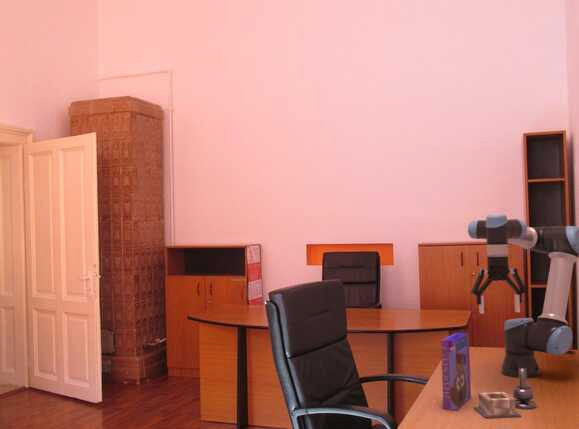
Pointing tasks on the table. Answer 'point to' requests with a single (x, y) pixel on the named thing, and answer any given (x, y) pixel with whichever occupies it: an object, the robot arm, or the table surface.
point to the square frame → (496, 403)
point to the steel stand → (523, 392)
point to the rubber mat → (495, 415)
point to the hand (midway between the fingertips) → (499, 312)
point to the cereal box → (455, 371)
